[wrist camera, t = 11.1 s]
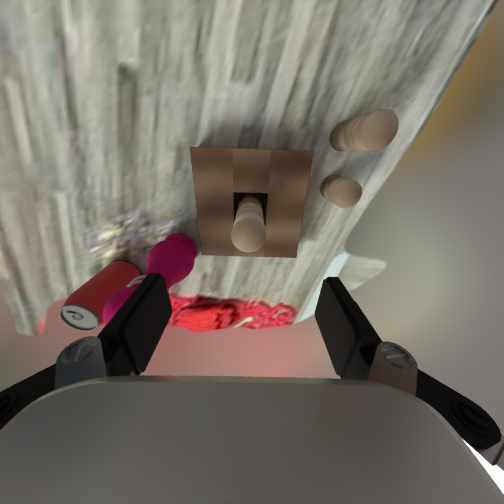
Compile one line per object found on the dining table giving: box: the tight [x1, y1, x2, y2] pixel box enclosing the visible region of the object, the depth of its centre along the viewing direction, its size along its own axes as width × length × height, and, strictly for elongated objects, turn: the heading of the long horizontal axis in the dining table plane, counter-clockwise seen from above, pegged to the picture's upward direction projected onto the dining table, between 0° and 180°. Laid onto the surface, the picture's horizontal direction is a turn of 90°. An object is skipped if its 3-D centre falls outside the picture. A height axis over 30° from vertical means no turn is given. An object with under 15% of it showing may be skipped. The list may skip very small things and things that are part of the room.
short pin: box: [320, 175, 362, 208], centre depth 28 cm, size 4×4×6 cm
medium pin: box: [330, 109, 398, 151], centre depth 23 cm, size 4×4×9 cm
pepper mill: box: [103, 234, 197, 325], centre depth 27 cm, size 7×7×20 cm
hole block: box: [190, 147, 313, 258], centre depth 30 cm, size 16×16×4 cm
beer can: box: [59, 261, 141, 332], centre depth 33 cm, size 7×7×12 cm
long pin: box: [231, 193, 266, 252], centre depth 26 cm, size 4×4×14 cm
